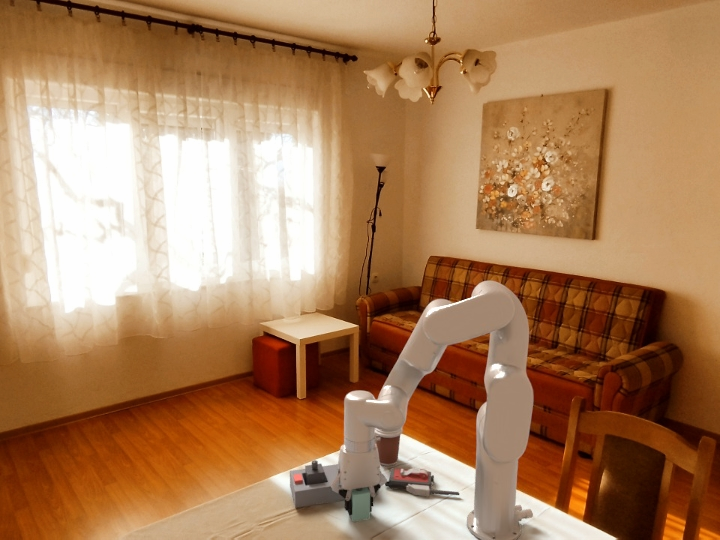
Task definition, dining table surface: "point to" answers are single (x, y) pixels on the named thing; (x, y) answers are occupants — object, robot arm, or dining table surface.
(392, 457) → the coffee cup
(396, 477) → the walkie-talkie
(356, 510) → the plug
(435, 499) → the dining table surface
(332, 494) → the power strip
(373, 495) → the robot arm
